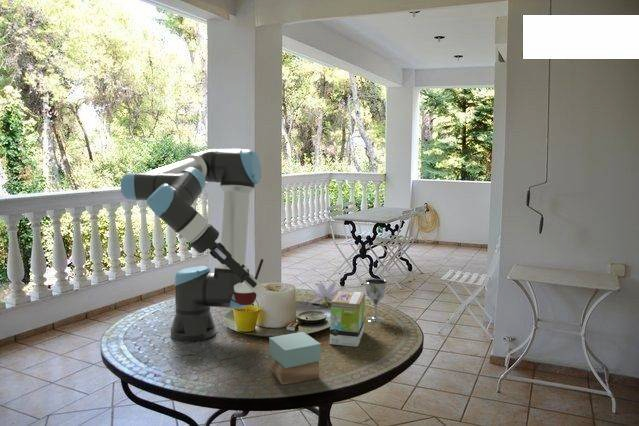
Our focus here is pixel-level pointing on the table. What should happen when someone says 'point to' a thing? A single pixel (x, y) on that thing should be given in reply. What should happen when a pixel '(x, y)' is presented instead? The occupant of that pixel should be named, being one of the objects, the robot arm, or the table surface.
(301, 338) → the tower top
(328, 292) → the water lily
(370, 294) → the wine glass
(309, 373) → the tower base
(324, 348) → the table surface
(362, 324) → the tea box
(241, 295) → the cocoa
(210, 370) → the table surface
